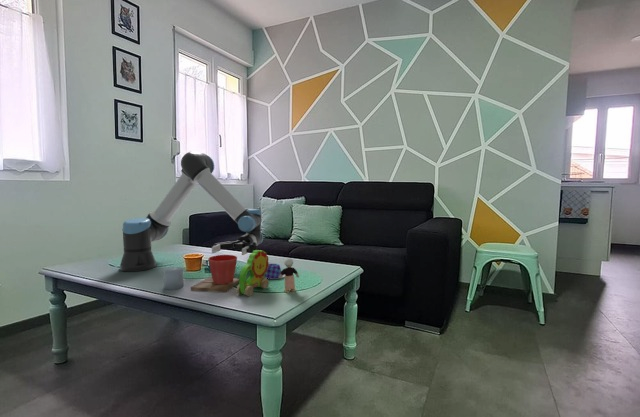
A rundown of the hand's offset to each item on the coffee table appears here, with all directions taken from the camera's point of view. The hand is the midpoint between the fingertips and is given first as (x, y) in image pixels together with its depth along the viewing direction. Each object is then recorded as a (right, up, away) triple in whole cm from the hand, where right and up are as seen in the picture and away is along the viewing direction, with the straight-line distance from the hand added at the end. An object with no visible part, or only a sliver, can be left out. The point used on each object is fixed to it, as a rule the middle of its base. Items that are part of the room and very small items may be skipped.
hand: (227, 251), depth 140 cm
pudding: (+19, -12, +5) cm, 23 cm away
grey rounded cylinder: (-18, -13, -11) cm, 25 cm away
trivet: (-2, -13, -9) cm, 16 cm away
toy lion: (+15, -13, -15) cm, 25 cm away
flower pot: (+1, -11, -8) cm, 14 cm away
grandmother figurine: (+28, -13, -16) cm, 35 cm away
